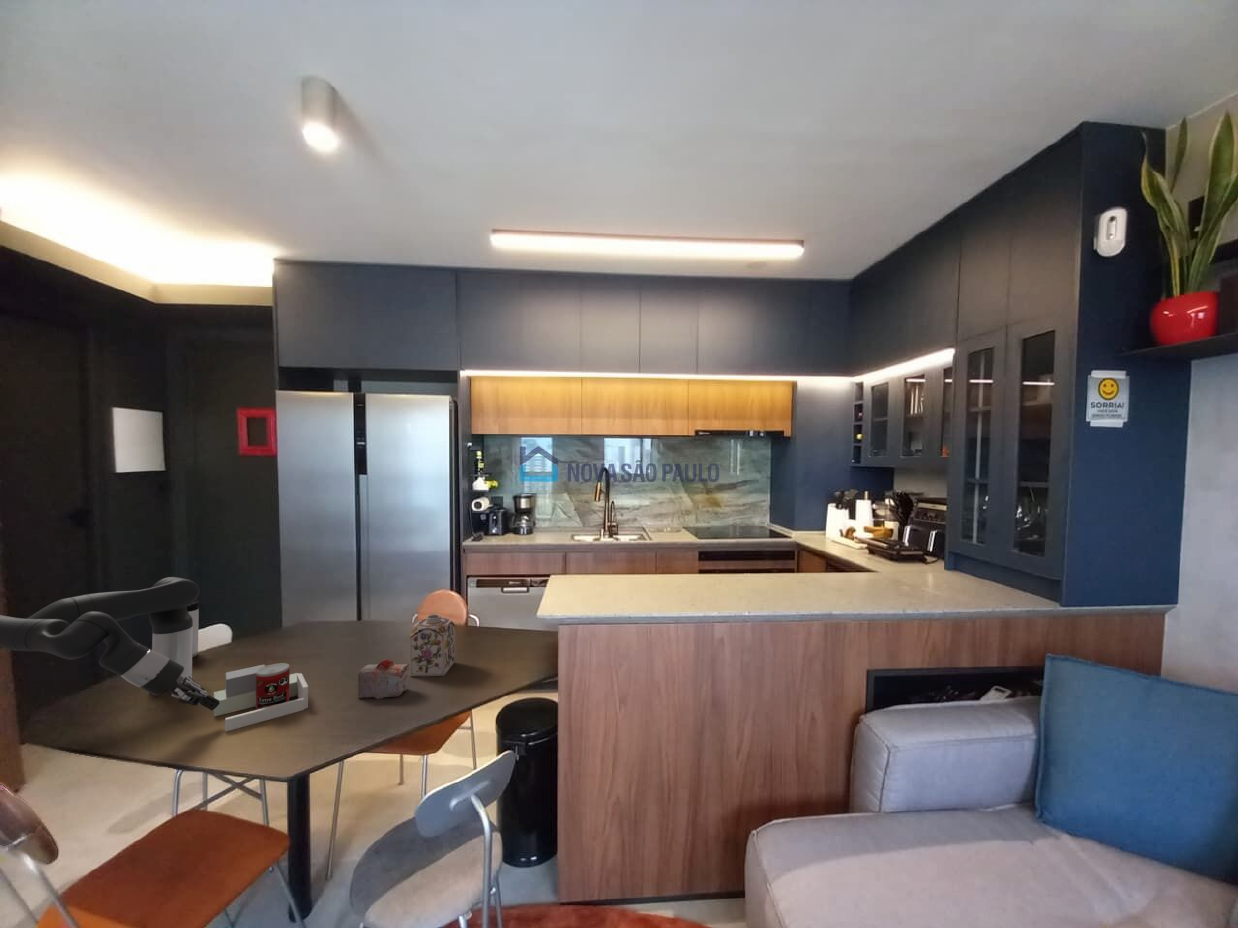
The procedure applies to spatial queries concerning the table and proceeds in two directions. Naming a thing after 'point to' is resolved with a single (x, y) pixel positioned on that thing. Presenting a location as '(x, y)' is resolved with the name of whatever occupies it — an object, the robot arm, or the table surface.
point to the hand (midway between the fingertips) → (216, 705)
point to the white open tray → (244, 696)
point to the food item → (382, 680)
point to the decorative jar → (432, 646)
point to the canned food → (272, 685)
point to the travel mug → (194, 625)
